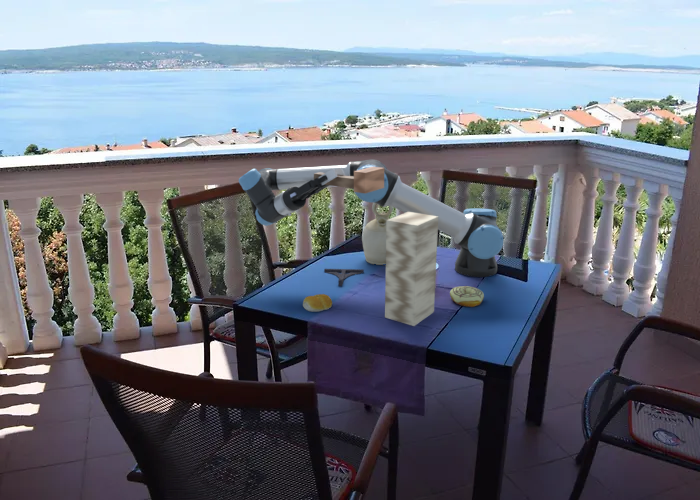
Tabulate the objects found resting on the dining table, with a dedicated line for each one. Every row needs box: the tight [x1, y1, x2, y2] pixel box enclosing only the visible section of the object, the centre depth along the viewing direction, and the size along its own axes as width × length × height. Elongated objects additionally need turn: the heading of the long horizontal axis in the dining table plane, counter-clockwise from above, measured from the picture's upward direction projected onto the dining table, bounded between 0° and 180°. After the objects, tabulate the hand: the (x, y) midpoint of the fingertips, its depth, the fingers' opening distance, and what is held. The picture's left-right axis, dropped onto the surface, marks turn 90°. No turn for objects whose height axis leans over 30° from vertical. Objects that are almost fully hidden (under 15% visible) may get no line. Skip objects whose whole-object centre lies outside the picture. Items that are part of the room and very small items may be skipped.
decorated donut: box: [449, 285, 485, 308], centre depth 175 cm, size 10×11×4 cm
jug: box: [361, 202, 394, 266], centre depth 210 cm, size 15×16×25 cm
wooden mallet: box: [314, 167, 384, 193], centre depth 167 cm, size 22×10×6 cm, turn 54°
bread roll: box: [302, 293, 333, 313], centre depth 171 cm, size 8×9×4 cm
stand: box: [384, 212, 439, 327], centre depth 161 cm, size 10×12×30 cm
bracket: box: [323, 268, 365, 287], centre depth 195 cm, size 14×15×3 cm
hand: (338, 171), depth 168 cm, fingers closed on wooden mallet, 3 cm apart
